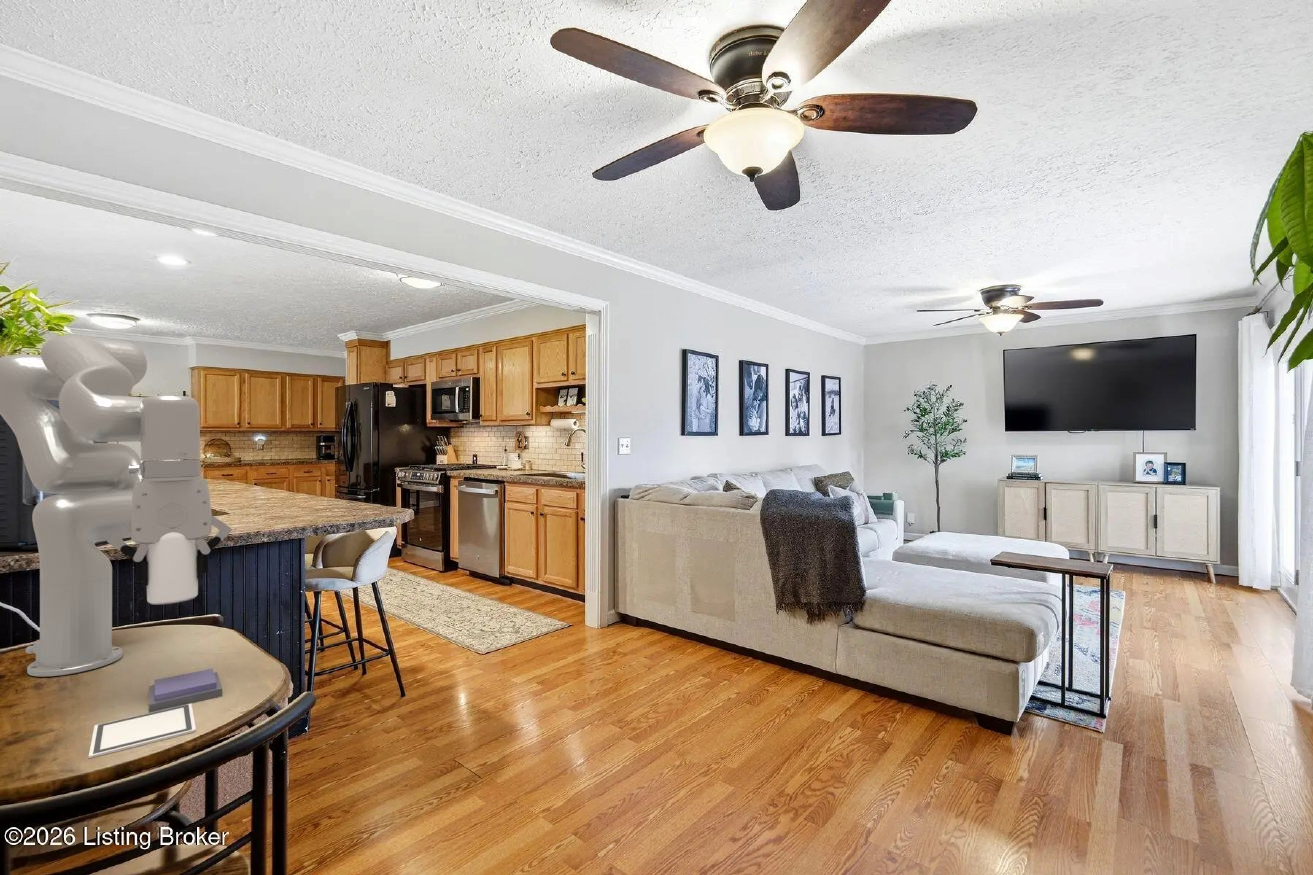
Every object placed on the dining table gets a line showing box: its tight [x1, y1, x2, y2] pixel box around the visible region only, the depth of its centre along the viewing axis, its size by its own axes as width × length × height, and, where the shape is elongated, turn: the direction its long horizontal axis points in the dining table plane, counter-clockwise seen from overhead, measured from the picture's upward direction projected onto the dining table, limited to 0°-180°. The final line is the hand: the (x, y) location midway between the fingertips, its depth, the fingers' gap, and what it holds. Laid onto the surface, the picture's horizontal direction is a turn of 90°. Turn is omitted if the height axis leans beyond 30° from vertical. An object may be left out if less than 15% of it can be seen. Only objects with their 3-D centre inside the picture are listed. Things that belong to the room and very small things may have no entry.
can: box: [145, 527, 199, 606], centre depth 97 cm, size 6×6×12 cm
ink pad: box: [148, 668, 223, 713], centre depth 97 cm, size 9×9×2 cm
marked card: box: [88, 703, 197, 759], centre depth 85 cm, size 11×11×1 cm
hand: (173, 580), depth 97 cm, fingers closed on can, 6 cm apart
